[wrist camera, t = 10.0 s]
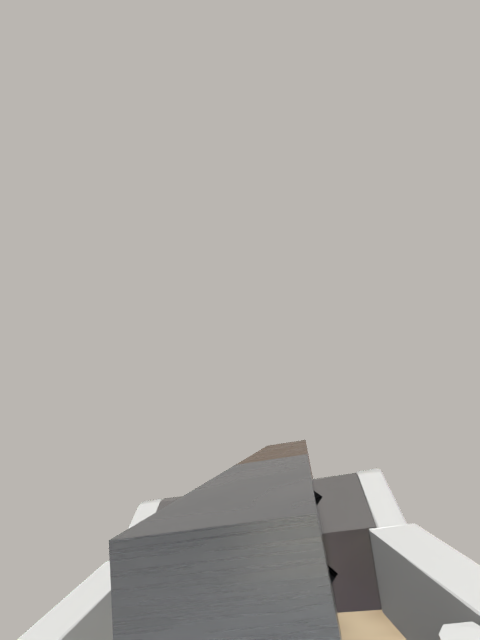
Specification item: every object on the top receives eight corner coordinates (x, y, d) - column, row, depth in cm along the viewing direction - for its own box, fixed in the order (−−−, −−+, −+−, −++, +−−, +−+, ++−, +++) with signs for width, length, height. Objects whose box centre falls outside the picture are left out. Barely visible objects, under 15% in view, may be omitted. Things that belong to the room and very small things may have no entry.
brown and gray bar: (120, 818, 4) (108, 540, 4) (274, 486, 23) (267, 445, 23) (372, 808, 3) (316, 513, 4) (313, 481, 22) (305, 440, 23)
